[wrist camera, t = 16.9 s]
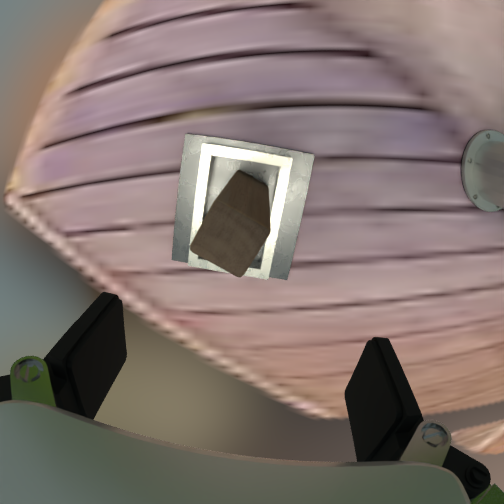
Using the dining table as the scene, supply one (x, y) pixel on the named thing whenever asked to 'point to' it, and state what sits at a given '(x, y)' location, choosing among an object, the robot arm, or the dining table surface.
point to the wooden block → (235, 225)
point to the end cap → (215, 179)
